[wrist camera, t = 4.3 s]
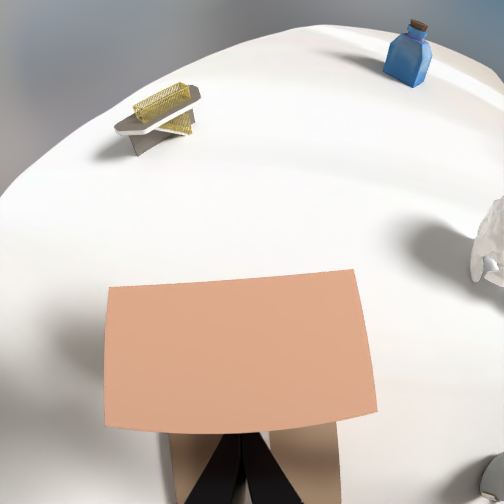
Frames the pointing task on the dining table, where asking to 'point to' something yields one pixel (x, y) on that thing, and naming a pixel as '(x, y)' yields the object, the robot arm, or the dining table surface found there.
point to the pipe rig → (285, 452)
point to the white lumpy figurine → (490, 245)
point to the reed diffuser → (494, 479)
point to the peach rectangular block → (237, 355)
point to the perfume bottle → (409, 55)
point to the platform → (161, 117)
